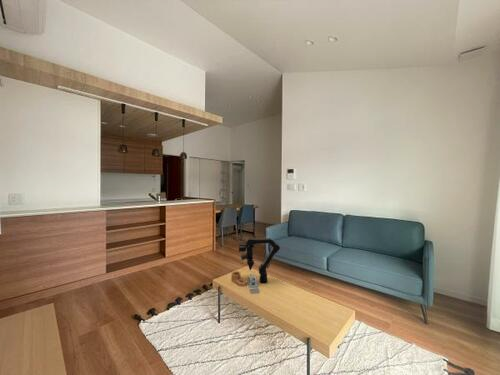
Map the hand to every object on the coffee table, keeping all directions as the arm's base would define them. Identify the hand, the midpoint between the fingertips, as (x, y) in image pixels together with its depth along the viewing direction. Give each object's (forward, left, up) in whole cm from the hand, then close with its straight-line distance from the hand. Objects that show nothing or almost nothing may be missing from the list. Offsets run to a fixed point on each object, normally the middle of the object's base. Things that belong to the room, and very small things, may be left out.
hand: (249, 267), depth 197 cm
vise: (-2, +8, -13) cm, 15 cm away
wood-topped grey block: (-2, +8, -12) cm, 14 cm away
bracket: (+10, +1, -13) cm, 17 cm away
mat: (-2, +19, -13) cm, 23 cm away
